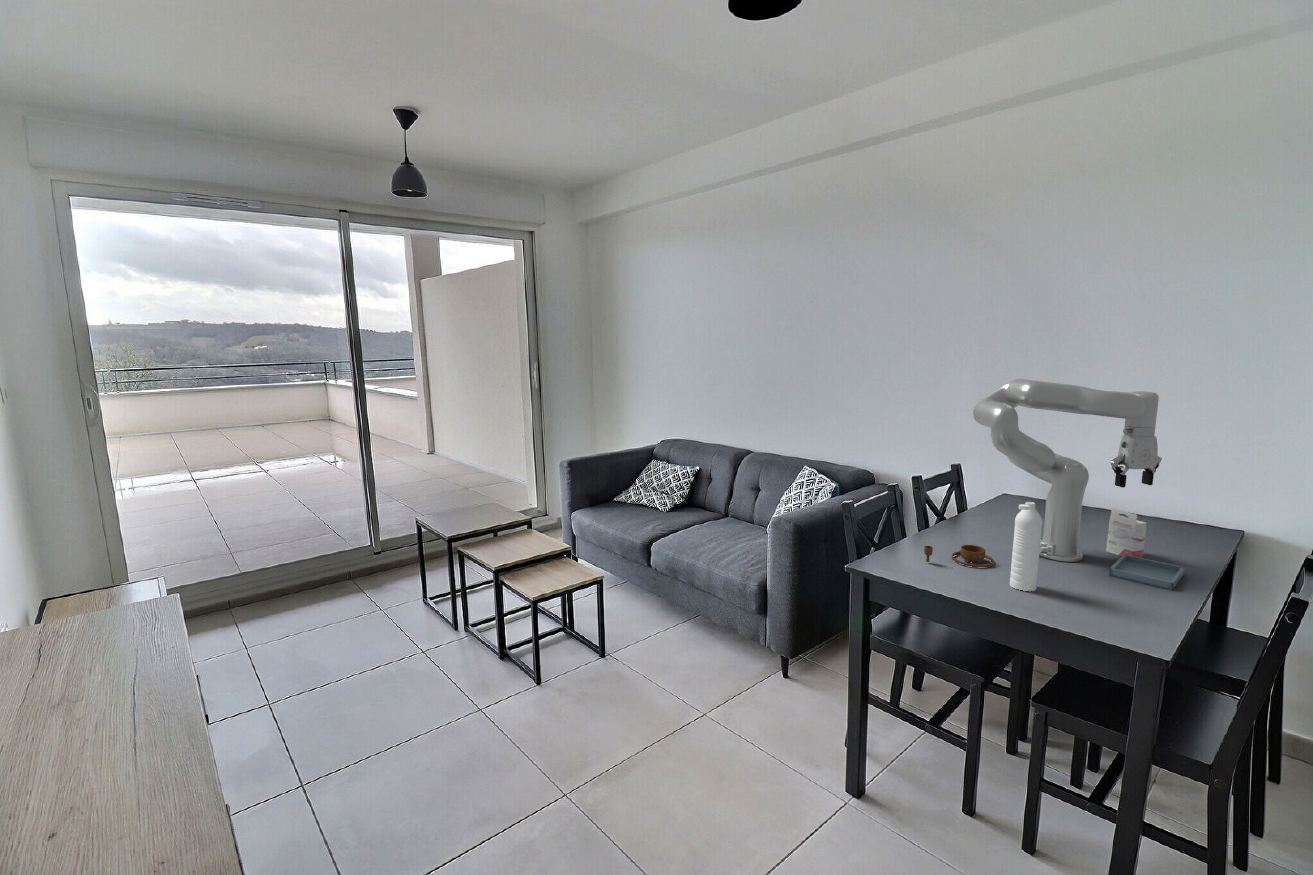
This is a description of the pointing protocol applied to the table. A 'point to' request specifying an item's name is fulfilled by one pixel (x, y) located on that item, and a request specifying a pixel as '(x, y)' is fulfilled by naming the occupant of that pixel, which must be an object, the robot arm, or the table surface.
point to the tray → (1147, 572)
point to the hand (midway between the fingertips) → (1133, 485)
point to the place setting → (965, 555)
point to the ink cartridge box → (1125, 534)
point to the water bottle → (1026, 548)
